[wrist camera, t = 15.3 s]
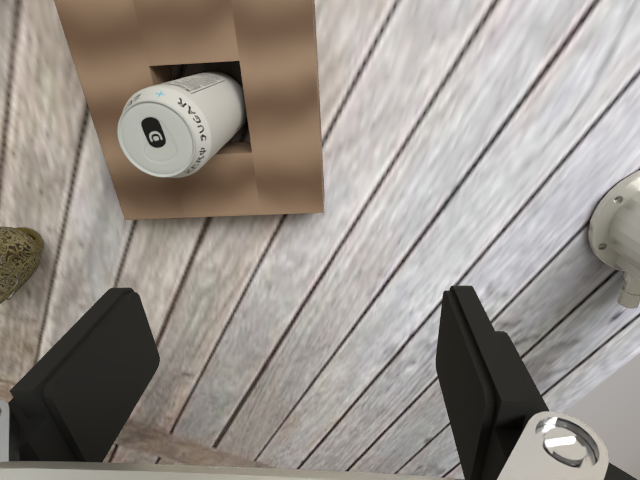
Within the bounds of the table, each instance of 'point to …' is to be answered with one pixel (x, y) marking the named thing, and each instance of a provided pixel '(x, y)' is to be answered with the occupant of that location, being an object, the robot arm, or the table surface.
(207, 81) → the energy drink can
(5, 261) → the cup
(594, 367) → the table surface
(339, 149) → the table surface
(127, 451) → the table surface
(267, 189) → the socket board
